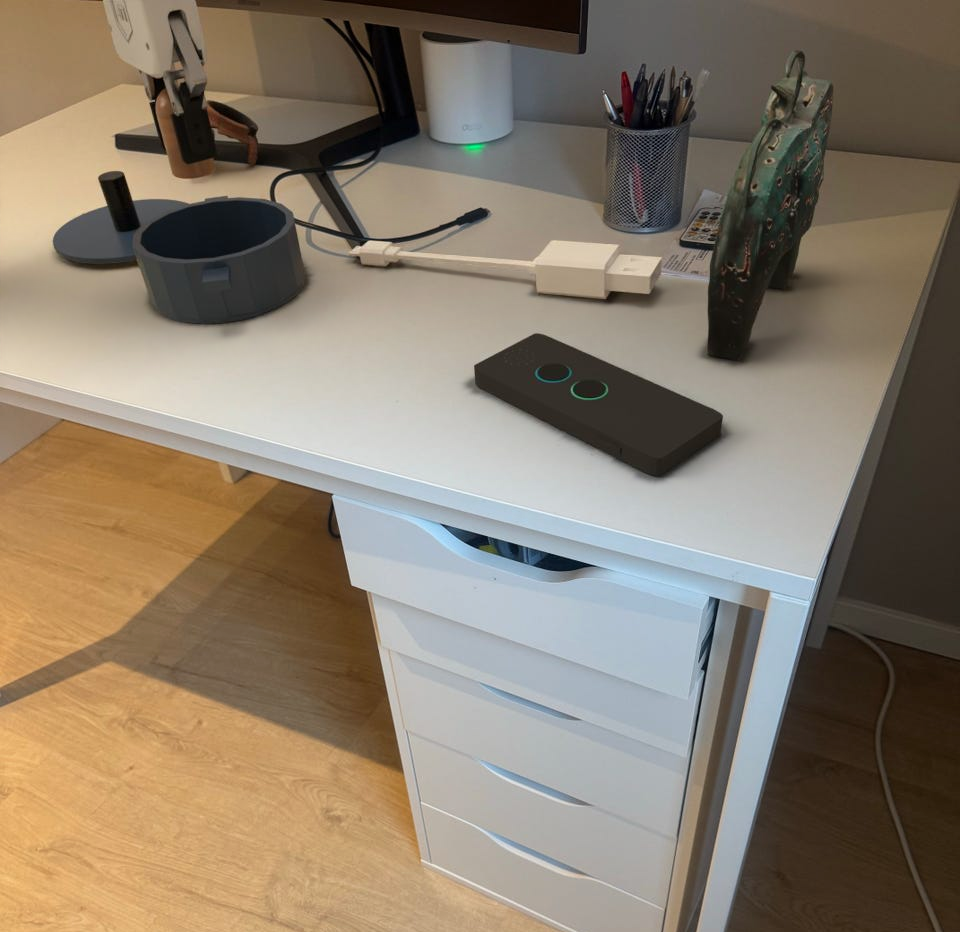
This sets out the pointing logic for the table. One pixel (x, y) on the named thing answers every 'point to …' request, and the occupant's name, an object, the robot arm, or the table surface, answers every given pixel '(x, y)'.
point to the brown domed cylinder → (171, 144)
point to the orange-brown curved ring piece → (234, 126)
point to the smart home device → (599, 403)
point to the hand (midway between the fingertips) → (189, 151)
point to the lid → (109, 224)
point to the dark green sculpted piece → (768, 207)
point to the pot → (220, 259)
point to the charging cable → (549, 267)
